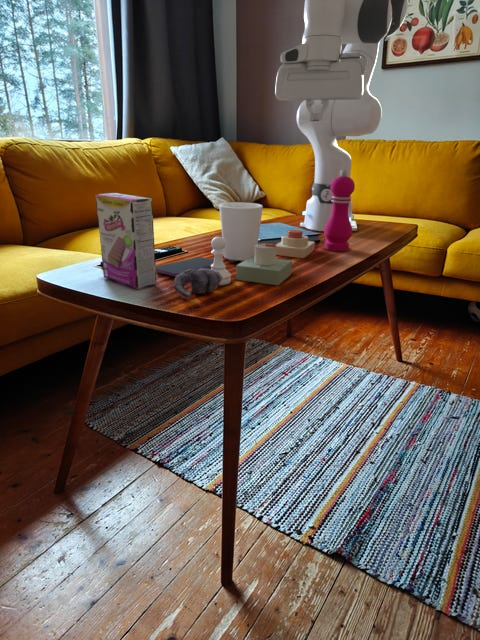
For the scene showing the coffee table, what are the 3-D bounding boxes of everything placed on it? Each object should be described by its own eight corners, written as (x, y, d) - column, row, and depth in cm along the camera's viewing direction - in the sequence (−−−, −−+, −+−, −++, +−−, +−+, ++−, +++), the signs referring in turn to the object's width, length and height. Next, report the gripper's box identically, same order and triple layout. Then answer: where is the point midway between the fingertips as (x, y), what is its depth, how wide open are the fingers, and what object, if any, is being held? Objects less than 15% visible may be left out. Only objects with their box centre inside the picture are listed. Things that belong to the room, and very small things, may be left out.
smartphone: (223, 261, 101) (176, 273, 90) (223, 266, 102) (176, 278, 90) (199, 256, 105) (151, 267, 94) (199, 261, 106) (151, 272, 94)
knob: (250, 263, 91) (251, 245, 90) (259, 259, 95) (259, 241, 93) (271, 266, 89) (272, 247, 88) (278, 261, 93) (279, 243, 92)
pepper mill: (348, 246, 122) (357, 169, 115) (352, 252, 115) (361, 170, 108) (321, 245, 123) (328, 168, 115) (323, 251, 116) (330, 170, 109)
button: (290, 236, 115) (290, 229, 115) (303, 237, 114) (304, 230, 114) (285, 238, 112) (286, 231, 112) (299, 240, 111) (300, 233, 110)
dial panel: (252, 269, 99) (252, 255, 98) (291, 274, 95) (292, 259, 94) (235, 279, 91) (236, 264, 90) (278, 285, 88) (278, 270, 87)
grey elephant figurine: (179, 306, 79) (220, 295, 86) (191, 287, 76) (233, 278, 82) (164, 283, 81) (205, 274, 88) (175, 264, 77) (217, 256, 84)
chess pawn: (207, 286, 87) (207, 239, 83) (204, 278, 91) (203, 234, 88) (233, 285, 88) (233, 239, 84) (228, 277, 92) (228, 234, 89)
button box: (285, 246, 120) (285, 232, 119) (314, 250, 117) (315, 234, 116) (272, 254, 112) (273, 238, 110) (303, 258, 109) (305, 241, 107)
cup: (227, 267, 100) (228, 208, 95) (213, 257, 108) (213, 203, 104) (268, 263, 103) (270, 207, 99) (251, 254, 112) (252, 201, 107)
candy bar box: (101, 278, 90) (93, 194, 84) (122, 273, 94) (116, 192, 88) (137, 290, 83) (131, 199, 77) (158, 284, 87) (153, 197, 81)
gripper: (370, 54, 101) (362, 121, 106) (282, 58, 108) (280, 121, 113) (365, 49, 95) (358, 120, 100) (274, 54, 102) (271, 120, 108)
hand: (316, 121), depth 107 cm, fingers closed
